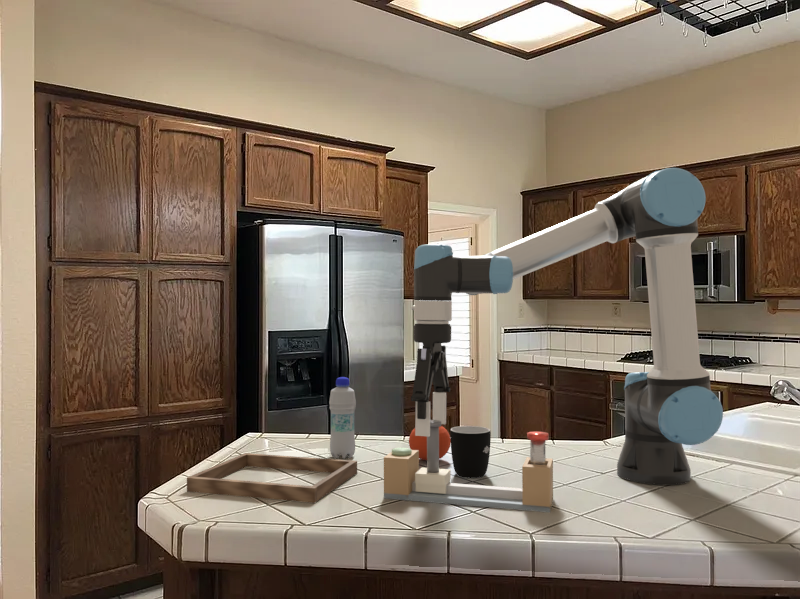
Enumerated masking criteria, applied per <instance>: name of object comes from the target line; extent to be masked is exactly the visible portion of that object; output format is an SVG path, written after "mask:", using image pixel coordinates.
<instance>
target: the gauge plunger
mask: <svg viewBox="0 0 800 599" xmlns="http://www.w3.org/2000/svg"><path fill="white" fill-rule="evenodd" d="M526 434H527V435H526V439H527V440H529V442H530V443H529V444H530V446H529V447H530V448H529V452H530V456H529V457H530V464H533V465H546V463H545V458H546V441H548V440H550V437H549V433H548V432H545V431H529V432H528V431H527V432H526Z"/></svg>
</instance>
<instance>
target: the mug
mask: <svg viewBox="0 0 800 599" xmlns="http://www.w3.org/2000/svg"><path fill="white" fill-rule="evenodd" d="M449 435H450V440H451V443H450V453H451V459H452V466H453V469H454V472H455V474H456V476H458V477H459V478H464V479H479V478H483V477H484V476H486V473H487V471H488V467H489V461H490V452H491V440H492V437H491V436H492V435H491V429H490V428H488V427H484V426H477V425H461V426H460V425H459V426H454V427H451V428H450V431H449Z"/></svg>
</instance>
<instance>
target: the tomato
mask: <svg viewBox="0 0 800 599" xmlns="http://www.w3.org/2000/svg"><path fill="white" fill-rule="evenodd" d="M408 446H409V449H411V450H419V460H422V461H426V462H427V436H415V427H414V428H413V429H412V430H411V433H410V434H409V437H408ZM450 449H451V440H450V432H449V431H448V429H446V428H445V427H444V426H443V425H441V426H440V427H439V460H440V459H442V458H443V457H445V455H447V453H448V452H449V451H450Z"/></svg>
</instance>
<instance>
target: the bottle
mask: <svg viewBox="0 0 800 599" xmlns="http://www.w3.org/2000/svg"><path fill="white" fill-rule="evenodd" d="M335 386H336V387H334V388H332V389H331V390H330V395H329V401H328V404H329V410H330V440H329V441H330V442H329V451H330V452H329V453H330V456H331V457H332V458H334V459H338V460H339V459H340V456H341V458H342V460H346V457H347V458H348V459H349V458H352V457H353V456H354V454H355V452H356V438H355V410H356V408H357V407H356V404H357V401H356V394H355V390H354V389H353V388H351V387H350V379H349V378H348V377H345V376H340V377H337V378H336V380H335Z"/></svg>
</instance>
